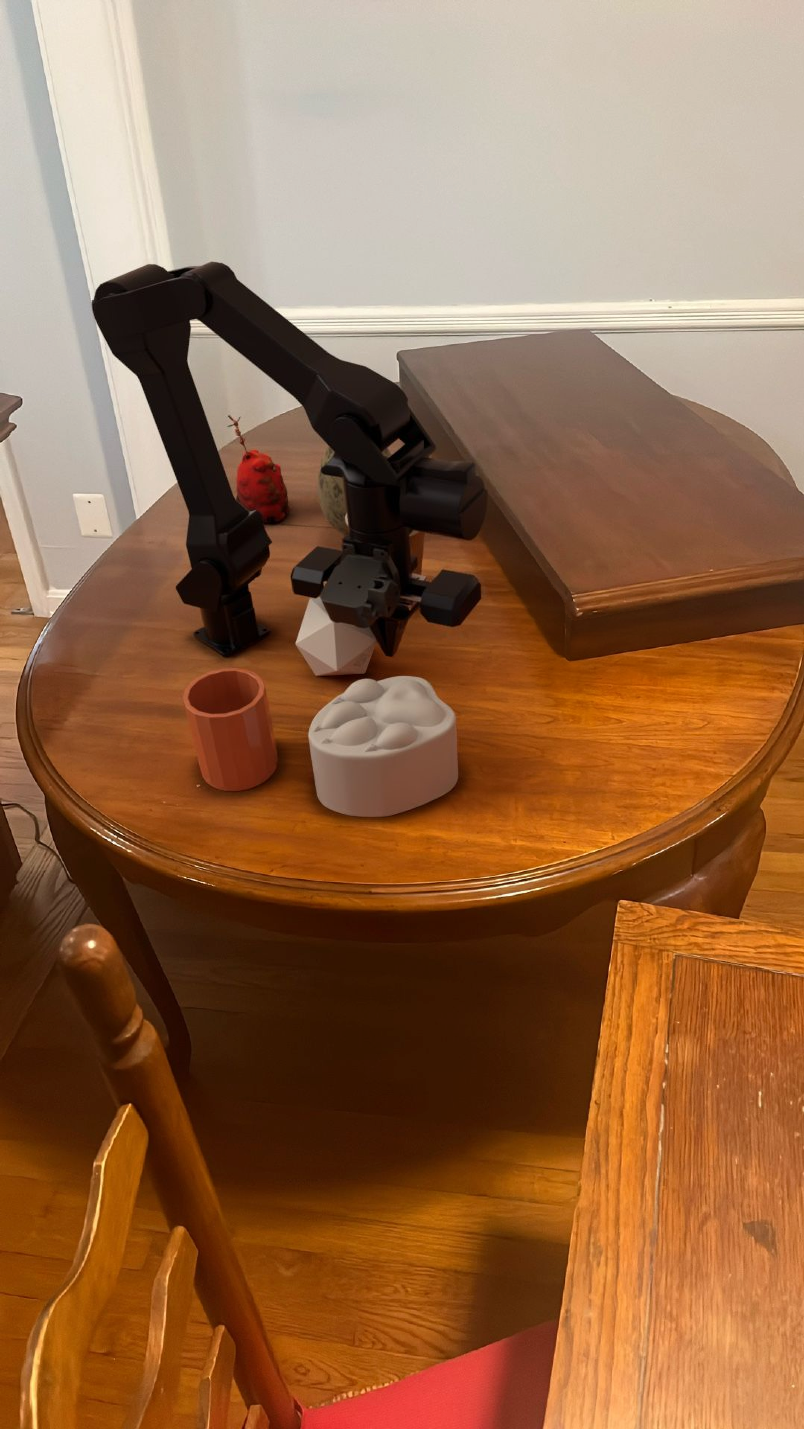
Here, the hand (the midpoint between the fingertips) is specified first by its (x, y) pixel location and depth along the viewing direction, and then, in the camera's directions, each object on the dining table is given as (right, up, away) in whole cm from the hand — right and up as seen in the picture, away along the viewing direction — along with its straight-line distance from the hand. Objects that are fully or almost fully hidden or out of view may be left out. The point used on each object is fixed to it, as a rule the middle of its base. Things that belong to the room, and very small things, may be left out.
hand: (391, 654), depth 104 cm
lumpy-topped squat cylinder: (-1, -12, -10) cm, 16 cm away
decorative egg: (-4, +17, +28) cm, 33 cm away
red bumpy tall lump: (-18, +21, +34) cm, 44 cm away
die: (-6, -1, +5) cm, 7 cm away
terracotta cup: (-15, -11, -7) cm, 20 cm away
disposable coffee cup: (0, +8, +15) cm, 17 cm away
